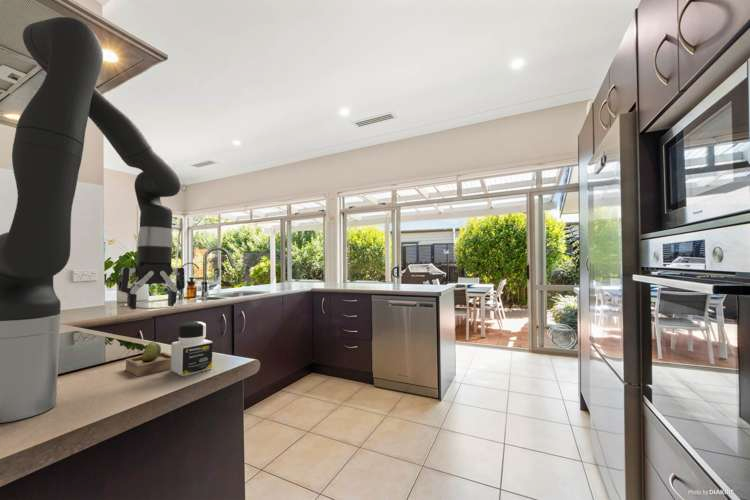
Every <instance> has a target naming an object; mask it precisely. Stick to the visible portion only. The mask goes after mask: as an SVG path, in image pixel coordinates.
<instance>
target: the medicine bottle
mask: <svg viewBox="0 0 750 500" xmlns="http://www.w3.org/2000/svg"><path fill="white" fill-rule="evenodd" d="M206 335H207V324H206V323H205V322H204V321H186V322H183V323H181V324H180V325H179V326H178V341H173V342H171V346H170V347H171V348H170V349H171V350H170V352H171V353H170V355H171V369H170V371H171V372H174V373H175V374H177V375H179V376H180V377H185V376H188V375H193V374H197V373H201V371H202V372H205V370H206V371H210V370H212V369H213V341H212V340H210V339H209V340H208V339H205V338H206ZM209 369H210V370H209Z"/></svg>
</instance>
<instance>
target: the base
mask: <svg viewBox="0 0 750 500" xmlns="http://www.w3.org/2000/svg"><path fill="white" fill-rule="evenodd" d="M141 359H142V355H141V356H136V357H131V358H130V357H129V358H126V359H125V370H126V371H127V372H129V373H131V374H133V376H136V378H137V377H142V376H145V375H150V374H155V373H158V372H163V371H168V370H171V353H170V354H169V353H167V352H164V351H161V353H160V355H159V357H158V358H156V359H155V360H153V361H151V362H143V361H142V360H141Z"/></svg>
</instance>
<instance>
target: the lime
mask: <svg viewBox="0 0 750 500" xmlns="http://www.w3.org/2000/svg"><path fill="white" fill-rule="evenodd" d="M161 352H162V348H161V345H160V344H159V343H158V342H155V341H150V342H149V343H148V345H147V346H146V347H145V348H144V350H143V353H142V354H141V356H142V359H141V360H142V361H143V362H151V361H153V360H155V359H156V358H158V357H159V355H160V353H161Z"/></svg>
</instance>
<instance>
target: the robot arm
mask: <svg viewBox="0 0 750 500" xmlns="http://www.w3.org/2000/svg"><path fill="white" fill-rule="evenodd" d="M22 40H23V44H24V46H25V48H26V50H27V52H28V53H29V55H30V56H31V57H32V58H33V60H34V61H35V62H36V63H37V64H38V65H39V67H41V69H42V70H43V71H44V72H45V76H44V79H43V82H42V83H41V85H40V87H39V89H38V90H37V91H36V92H35V94H34V95H33V97H31V99H30V100H29V102H28V103H27V105H26V107H25V108H24V110H23V111H22V112H21V114H20V116H19V119H18V121H17V124H16V128H15V134H14V138H13V139H14V140H13V144H12V152H11V160H12V161H11V163H12V169H13V171H12V172H13V177H14V181H15V184H16V190H17V191H16V192H17V193H16V194H17V199H16V207H15V211H14V215H13V217H12V218H13V219H12V222H11V225H10V228H9V231H8V232H5V233H2V234H0V424H3V423H9V422H15V421H18V420H22V419H27V418H30V417H33V416H37V415H40V414H43V413H44V412H47V411H49V410H51V409H53V408H54V407H55V406H56V405H57V397H58V396H57V395H58V376H59V375H58V371H59V354H60V352H59V351H60V350H59V349H60V330H61V327H60V326H61V307H62V306H61V305H62V304H61V300H60V299H59V297H58V295H56V292H55V288H54V276H56V275H58V274H59V273H60V272H61V271H63V269H65V267H66V266H67V265H68V262H69V260H70V256H71V243H72V241H71V236H72V235H71V233H72V228H71V227H72V212H73V211H72V210H73V203H74V199H75V196H76V195H75V194H76V189H77V184H78V178H79V171H80V169H81V164H82V160H83V158H82V157H83V152H84V147H85V138H86V137H85V136H86V130H87V125H88V119H90V120H91V121H92V122H93V124H95V126H96V127H97V128H98V129H99V131H100V132H101V133H102V134H103V136H104V137H105V138H106V139H107V141H108V143H109V144H110V145H111V146H112V148H113V149H114V150H115V152H116V153H117V154H118V156H119V157H120V158H121V160H122V161H123V163H125V164H126V166H128V167H131V168H135V169H138V170H141V172H139V174H137V176H136V178H135V179H134V192H135V196H136V201H137V204H138V207H139V211H140V214H139V215H140V216H139V230H138V233H137V247H136V248H137V250H136V252H137V253H136V264H135V265H136V266H135V268H133V267H132V268H131V267H121V268H120V271H119V279H118V285H117V287H118V288H117V291H118V292H120V293H125V294H126V295H127V297H126V298H127V299H126V301H127V302H126V307H128V308H129V309H130V310H136V309H137V292H138V291H139V289H140V288H141V287H143V286H144V285H154V284H155V285H163V286H165V287H166V289H167V290H168V291H169V292H168V294H167V307H174V306H175V304H176V303H177V295H178V291H181V290H185V285H186V283H185V281H186V279H185V268H184V267H176V268H173V266H172V261H173V258H172V257H173V256H172V255H173V254H172V253H173V245H174V243H173V230H172V228H173V211H172V209H171V208H169V207H168V206H165V205H162V201H161V198H168V197H169V198H170V197H175V196H176V195H178V194H179V192H180V191H181V181H180V178H179V176H178V174H177V173H176V172H175V171H174V169H173V168H172V167H171V166H170V165H169V164H168V162H166V161H165V160H164V159H163V158H162V157H161V156H160V155H158V154H157V152H155V150H153V148H152V146H151V145H150V143H149V142H148V140H147V139H146V137H145V135H144V134H143V132H142V131H141V130H140V128H139V127H138V126H137V125H136V123H134V122H133V121H132V119H130V117H129V116H127V115H126V113H124V112H123V111H122V110H120V109H119V108H118V107H117V106H115V105H114V104H113V103H112V102H111V101H109V100H108V99H107V98H106V97H105V96H104V95H103V94H102V93H101V92H100V91H99V89H98V88H97V87H96V84H97V81H98V78H99V75H100V72H101V69H102V65H103V62H104V61H103V60H104V59H103V58H104V53H103V52H104V51H103V47H102V43H101V42H100V40H99V37H98V36H97V34H96V33H95V31H93V29H92V28H91V27H90V26H89V25H87V24H86V23H85V22H83V21H81V20H79V19H77V18H74V17H71V16H70V17H69V16H59V17H52V18H48V19H44V20H40V21H37V22H33V23H30V24H28V25H27V26H25V27H24V29H23V32H22ZM133 274H134V275H136V277H137V278H136V280H135V281H133V283H132V284H131V285H130V287H128V286H129V277H132V276H133ZM172 274H173V275H174V276H175V282H176V283H175V284H174V282H173V280H172V279H171V278H170V277H171V275H172Z"/></svg>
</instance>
